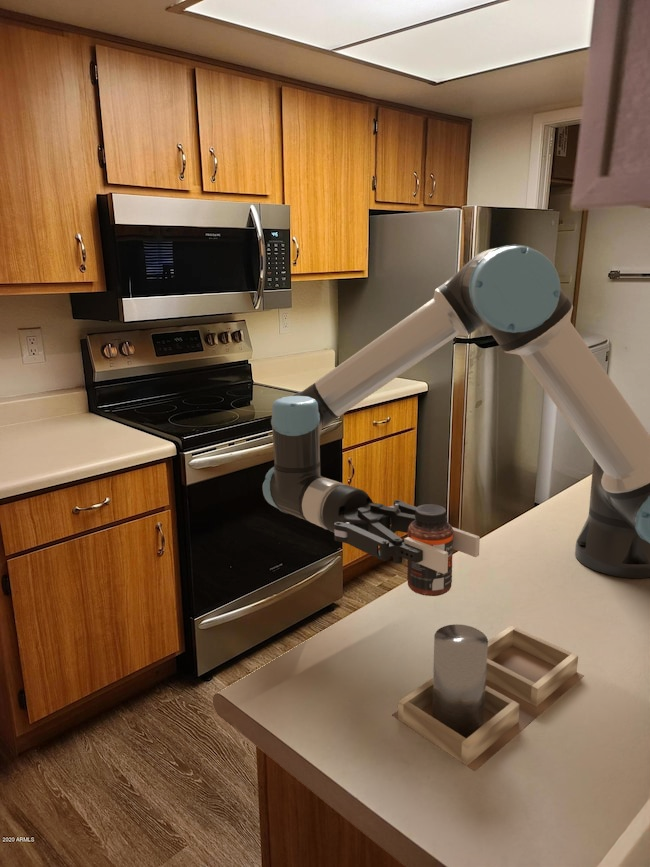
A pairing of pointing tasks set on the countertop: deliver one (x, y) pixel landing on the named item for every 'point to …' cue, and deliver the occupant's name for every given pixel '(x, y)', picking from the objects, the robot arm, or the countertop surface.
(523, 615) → the countertop surface
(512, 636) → the wooden divided tray
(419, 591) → the supplement bottle
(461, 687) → the billet
